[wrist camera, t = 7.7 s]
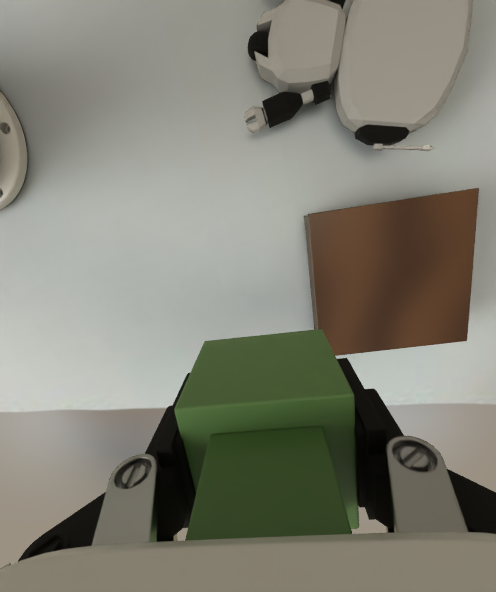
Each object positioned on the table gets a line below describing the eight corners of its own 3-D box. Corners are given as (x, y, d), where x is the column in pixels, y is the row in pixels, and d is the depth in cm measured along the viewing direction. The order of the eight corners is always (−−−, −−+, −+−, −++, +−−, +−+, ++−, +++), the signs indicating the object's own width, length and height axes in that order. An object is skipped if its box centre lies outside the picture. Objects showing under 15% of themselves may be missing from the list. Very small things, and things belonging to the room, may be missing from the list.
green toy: (222, 435, 14) (181, 666, 7) (203, 340, 12) (126, 510, 5) (329, 427, 13) (401, 666, 6) (322, 328, 12) (405, 495, 5)
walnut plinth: (312, 336, 30) (320, 357, 26) (300, 213, 26) (308, 214, 22) (436, 321, 29) (467, 341, 25) (442, 191, 25) (479, 187, 21)
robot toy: (244, 146, 26) (417, 160, 24) (237, 133, 21) (446, 149, 20) (259, -30, 22) (462, -24, 21) (253, -88, 18) (510, -84, 16)
